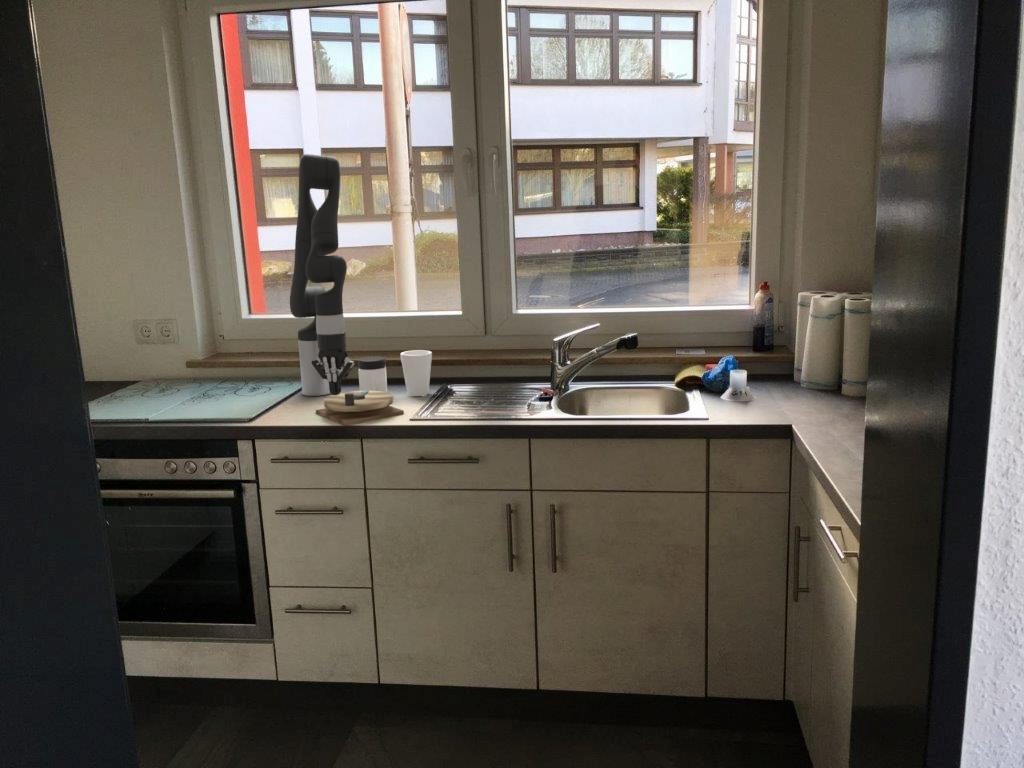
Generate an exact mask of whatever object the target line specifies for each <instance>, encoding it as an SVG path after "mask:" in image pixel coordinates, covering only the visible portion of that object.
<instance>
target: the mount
mask: <svg viewBox="0 0 1024 768" xmlns="http://www.w3.org/2000/svg"><path fill="white" fill-rule="evenodd" d="M404 411H405V410H403V409H400V408H398V407H395V406H392V405H389V406H386V407H383V408H379V409H374V410H368V411H356V412H343V411H334V410H329V409H327V408H325V407H324V408H319V409H315V414H317V415H319V416H321V417H323V418H326V419H329V420H331V421H333V422H336V423H339V424H341V425H343V426H350V425H355V423H356V424H360V423H365V421H366V422H370V420H371V421H376V420H380V419H385V418H390V417H395V416H400V415H403V414H405V412H404ZM375 419H376V420H375Z"/></svg>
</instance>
